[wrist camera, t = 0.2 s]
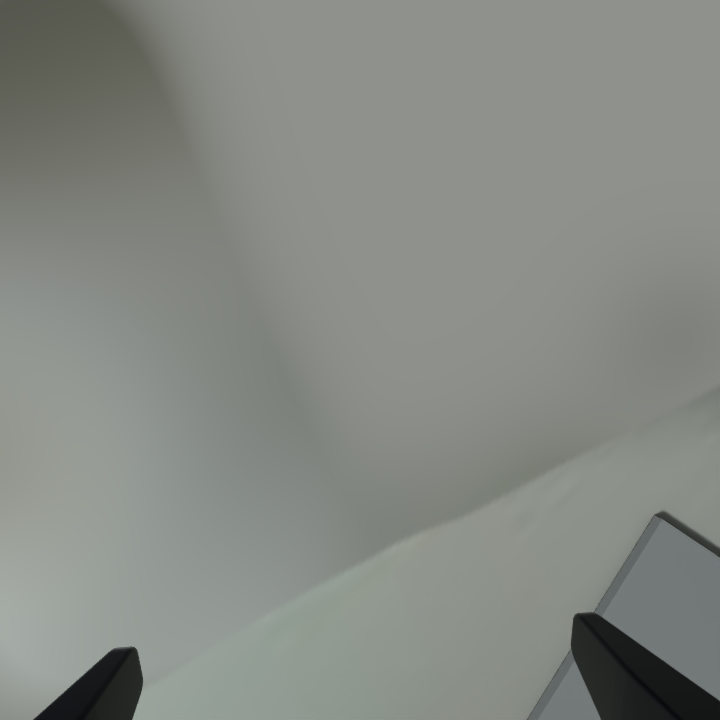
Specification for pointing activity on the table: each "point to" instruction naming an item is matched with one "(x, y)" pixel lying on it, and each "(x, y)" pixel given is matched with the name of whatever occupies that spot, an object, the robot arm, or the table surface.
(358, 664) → the table surface
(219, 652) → the table surface
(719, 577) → the gate base
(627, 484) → the table surface
